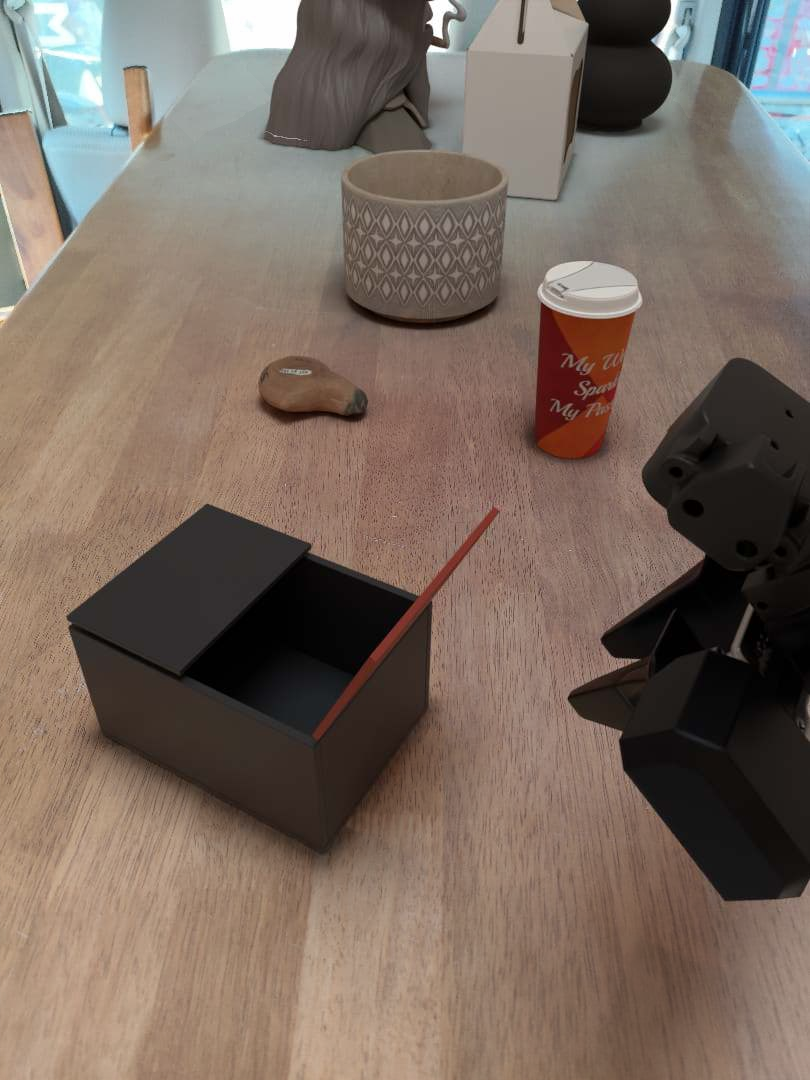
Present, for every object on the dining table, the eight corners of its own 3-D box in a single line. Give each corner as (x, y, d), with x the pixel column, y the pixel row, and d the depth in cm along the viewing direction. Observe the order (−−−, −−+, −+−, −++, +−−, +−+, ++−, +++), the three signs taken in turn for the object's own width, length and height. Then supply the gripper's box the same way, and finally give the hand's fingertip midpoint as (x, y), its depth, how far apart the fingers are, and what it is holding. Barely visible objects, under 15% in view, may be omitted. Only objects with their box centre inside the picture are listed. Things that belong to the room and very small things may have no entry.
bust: (507, 136, 143) (529, -138, 121) (318, 170, 129) (303, -134, 107) (396, 91, 166) (397, -148, 143) (224, 115, 151) (196, -146, 129)
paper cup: (558, 476, 71) (582, 309, 62) (503, 429, 76) (518, 269, 67) (635, 450, 74) (669, 287, 65) (578, 407, 79) (601, 251, 70)
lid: (430, 590, 47) (436, 594, 47) (311, 736, 39) (317, 741, 39) (494, 506, 41) (500, 510, 41) (369, 656, 34) (376, 662, 34)
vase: (682, 138, 143) (735, -136, 121) (573, 144, 140) (607, -136, 118) (635, 108, 157) (675, -142, 135) (535, 113, 154) (559, -143, 132)
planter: (382, 257, 105) (381, 141, 97) (518, 280, 100) (529, 161, 92) (318, 313, 93) (311, 187, 85) (468, 343, 88) (476, 212, 80)
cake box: (487, 146, 139) (501, -72, 121) (573, 153, 137) (600, -68, 119) (459, 193, 122) (470, -53, 105) (556, 201, 120) (584, -48, 102)
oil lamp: (291, 449, 75) (375, 424, 78) (291, 411, 72) (378, 386, 75) (247, 390, 80) (327, 369, 83) (245, 352, 77) (328, 332, 80)
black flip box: (428, 707, 52) (433, 590, 47) (323, 855, 45) (313, 737, 39) (225, 616, 58) (206, 502, 52) (101, 734, 51) (63, 616, 45)
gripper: (913, 213, 30) (564, 411, 41) (800, 502, 17) (341, 674, 29) (1072, 476, 32) (697, 597, 43) (1073, 907, 19) (544, 920, 31)
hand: (591, 674), depth 36 cm, fingers open, 3 cm apart
